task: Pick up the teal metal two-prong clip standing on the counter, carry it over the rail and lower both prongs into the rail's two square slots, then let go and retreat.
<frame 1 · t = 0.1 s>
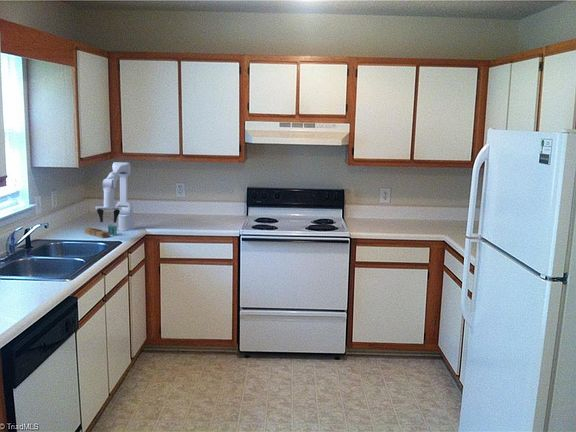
hand: (108, 222, 305), 10 cm above the worktop, tool pointing down, fingers open, 7 cm apart
clip: (112, 234, 320), on the worktop
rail: (96, 234, 318), on the worktop
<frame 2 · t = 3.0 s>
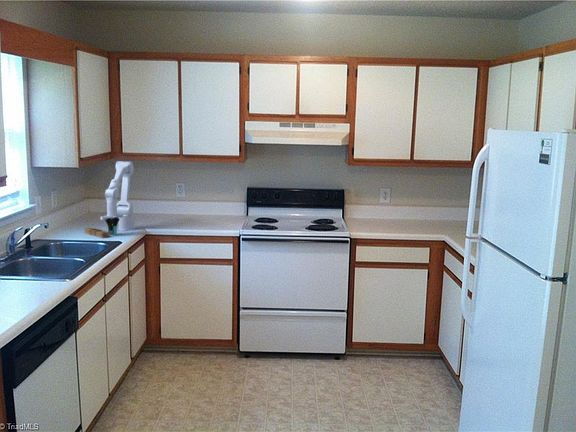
hand: (112, 230, 320), 3 cm above the worktop, tool pointing down, fingers closed on clip, 2 cm apart
clip: (112, 234, 320), on the worktop, touching gripper
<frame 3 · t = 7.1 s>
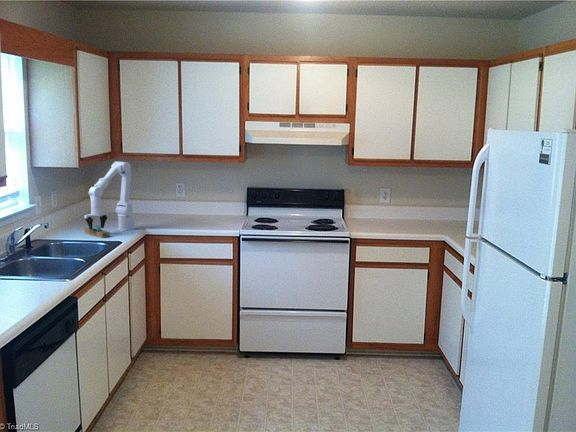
hand: (96, 228, 318), 4 cm above the worktop, tool pointing down, fingers open, 7 cm apart
clip: (96, 234, 318), resting in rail
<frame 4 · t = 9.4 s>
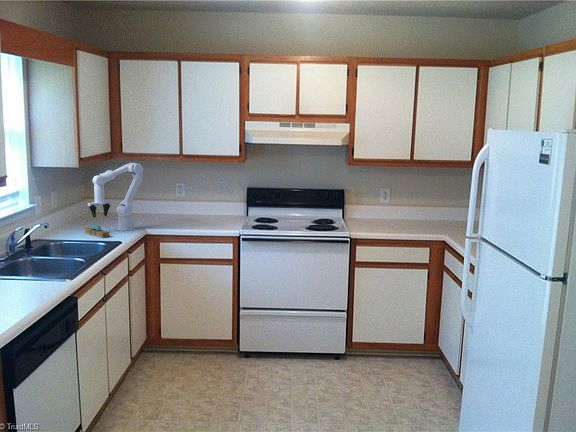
hand: (99, 216, 325), 10 cm above the worktop, tool pointing down, fingers open, 7 cm apart
nothing on the worktop moved.
at the end: clip 0.1 cm off-centre on the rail, point 0.0 cm above the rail's base; clip tilted 0°; the gripper is holding nothing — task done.
